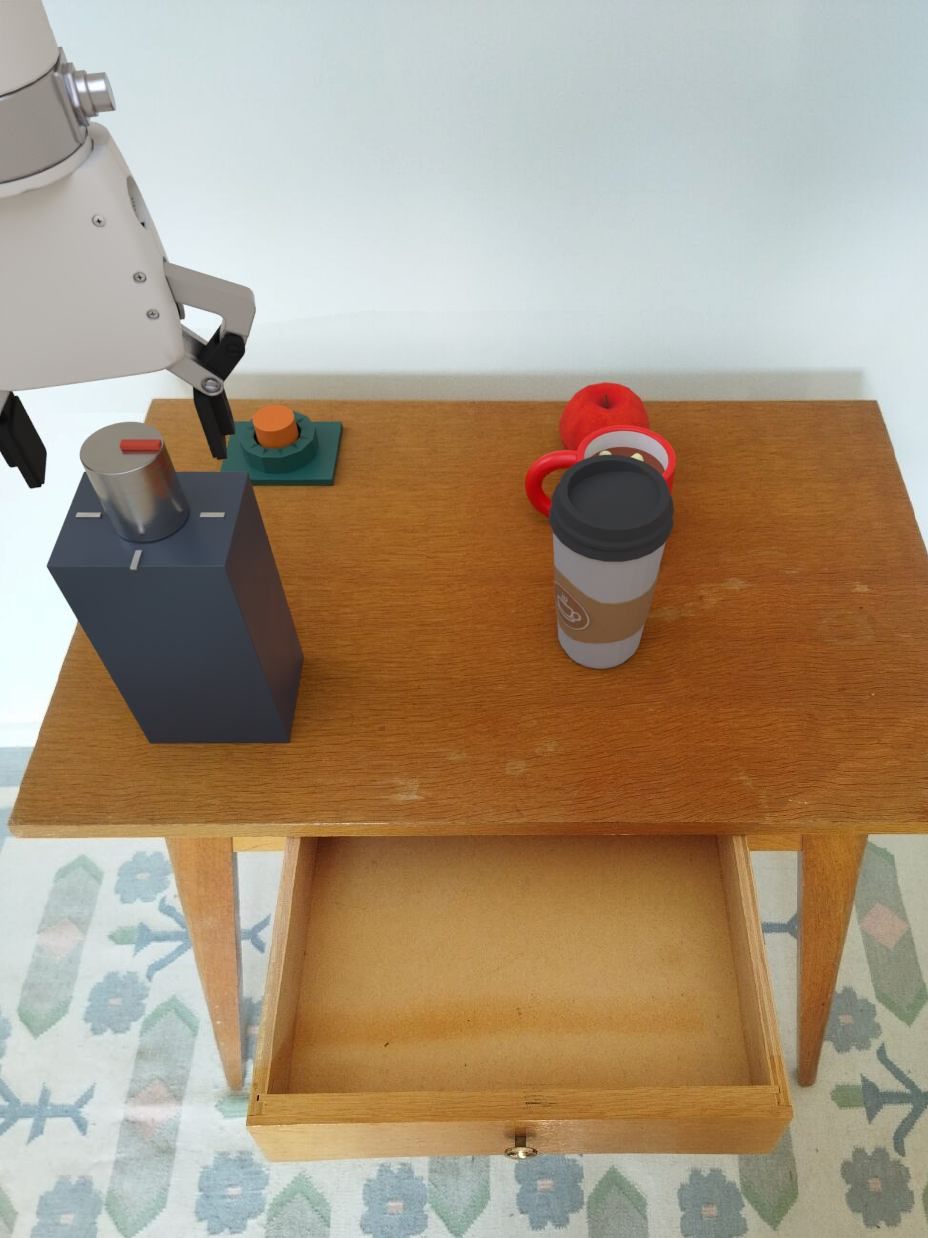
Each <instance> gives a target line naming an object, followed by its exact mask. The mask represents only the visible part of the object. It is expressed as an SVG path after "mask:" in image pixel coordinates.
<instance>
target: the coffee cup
mask: <svg viewBox="0 0 928 1238" xmlns="http://www.w3.org/2000/svg"><path fill="white" fill-rule="evenodd" d="M550 499H551V508H550V510H549V517H548V522H549V526H550V527H551V530H552V543H553V544H552V546H553V561H552V562H553V564H552V567H553V586H554V600H555V601H554V603H555V616H556V619H557V620H556V621H557V638H558V641H559V644H560V646H561V648H562V650H563V651H565V653H566V654H567V656H568V657H569V658H570V659H571V660H573V661H574V662H575V663H577V664H579V665H581V666H583V667H585V668H591V669H596V670H597V669H599V670H600V669H601V670H603V669H610V668H615V667H617V666H619V665H622V664H623V663H625V662H626V661H627V660H629V659H630V658H631V657H632V656H633V655H634V654H635V653H636V651H637V650H638V648H639V646H640V642H641V640H642V639H641V638H642V636H643V631H644V628H645V624H646V622H647V620H648V617H649V613H650V609H651V605H652V602H653V598H654V594H655V590H656V585H657V582H658V578H659V574H660V572H661V562H662V558H663V554H664V550H665V546H666V542H667V540H668V539H669V538H670V537H671V535H672V531H673V528H674V524H675V523H674V512H675V509H674V500H673V497H672V494H671V495H670V493H669V487H668V485H667V483H666V481H665V479H664V477H663V476H662V475H661V474H660V473H659V472H658V471H657V470H656V469H655V468H653V467H652V466H650V465H649V464H647V463H646V462H643V461H641V460H638V459H635V458H633V457H628V456H623V455H599V456H593V457H589V458H587V459H584V460H581V461H579V462H577V463H576V464H574V465H573V466H571V467H570V468H567V469H566V471H564V473H563V474H562V475H561V477H560V480H559V481H558V484H557V485H556V486H555V488H554V490H553V493H552V496H551V498H550Z"/></svg>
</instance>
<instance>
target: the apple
mask: <svg viewBox="0 0 928 1238" xmlns="http://www.w3.org/2000/svg"><path fill="white" fill-rule="evenodd" d="M616 425H631V426H638V427H642V428H646V429H648V430H650V426H651V424H650V419H649V415H648V412H647V410H646V407H645V404H644V402H643V400H642V398H641V397H640V396H639V395H638V394H637V393H636V392H634V390H632V389H631V388H630V387H628V386H626V385H623V384H621V383H616V382H606V381H605V382H598V383H593V384H588V385H587V386H585V387H583V388H581V389H579V390H578V391H576V392H575V393H574V395H573V396H572V397H571V398H570V399H569V400H568V402H567V403H566V405H565V406H564V408H563V410H562V412H561V416H560V418H559V427H558V433H559V437H560V440H561V443H562V446H563V448H564V450H573V451H577V450H578V447H579V445H580V444H581V442H582V441H583V440H584V439H585V438H586V437H587V436H588V435H590V434H591V433H593V432H594V431H597V430H599V429H601V428H605V427H609V426H616Z"/></svg>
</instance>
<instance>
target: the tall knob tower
mask: <svg viewBox="0 0 928 1238" xmlns="http://www.w3.org/2000/svg"><path fill="white" fill-rule="evenodd" d="M176 474H177V477H178V479H179V482H180V484H181V487H182V490H183V492H184V495H185V497H186V500H187V503H188V506H189V514H188V518H187V520H186V522H185V523H184V524H183V526H182V527H181V528H180V529H178V530H177V531H176V532H174V533H173V534H171V535H169V536H167V537H165V538H163V539H159V540H156V541H150V542H135V541H130V540H127V539H124V538H123V537H121V536H119V535H118V534H117V533H116V532H115V531H114V529H113V527H112V525H111V523H110V521H109V519H108V517H107V514H106V512H105V510H104V508H103V506H102V504H101V502H100V500H99V498H98V496H97V494H96V492H95V490H94V487H93V485H92V483H91V481H90V479H89V477H88V475H87V473H86V471H83V473H82V475H81V478H80V480H79V482H78V485H77V487H76V490H75V493H74V495H73V498H72V500H71V503H70V506H69V508H68V510H67V513H66V516H65V518H64V520H63V523H62V525H61V528H60V531H59V533H58V536H57V538H56V541H55V543H54V545H53V547H52V551H51V553H50V556H49V558H48V560H47V563H46V569H47V570H48V573H49V574H50V576H51V577H52V579H53V580H54V583H55V584H56V586H57V587H58V589H59V591H60V592H61V594H62V596H63V598H64V599H65V601H66V602H67V605H68V606H69V608H70V610H71V611H72V613H73V615H74V617H75V618H76V620H77V622H78V623H79V625H80V627H81V628H82V630H83V632H84V633H85V635H86V637H87V639H88V640H89V642H90V644H91V646H92V647H93V649H94V650H95V652H96V654H97V656H98V657H99V659H100V661H101V662H102V664H103V666H104V667H105V669H106V671H107V672H108V675H109V676H110V678H111V680H112V682H113V683H114V684H115V687H116V688H117V690H118V692H119V693H120V695H121V697H122V698H123V700H124V702H125V703H126V705H127V707H128V709H129V711H130V712H131V714H132V715H133V717H134V720H136V722H137V724H138V726H139V727H140V729H141V732H142V733H143V735H145V738H146V739H147V742H148V743H149V744H283V743H284V744H285V743H286V744H289V743H290V741H291V737H292V736H291V735H292V729H293V723H294V717H295V713H296V712H295V711H296V706H297V699H298V694H299V689H300V682H301V676H302V671H303V670H302V669H303V664H304V659H305V654H304V651H303V648H302V644H301V642H300V638H299V635H298V632H297V629H296V628H297V627H296V626H295V622H294V618H293V615H292V612H291V608H290V606H289V603H288V599H287V596H286V592H285V589H284V585H283V583H282V579H281V576H280V573H279V569H278V566H277V563H276V560H275V556H274V553H273V549H272V546H271V543H270V540H269V537H268V533H267V529H266V526H265V523H264V520H263V516H262V514H261V513H262V512H261V510H260V506H259V504H258V500H257V496H256V494H255V490H254V487H253V485H252V483H251V480H250V477H249V473H248V472H220V471H176Z"/></svg>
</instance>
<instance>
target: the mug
mask: <svg viewBox="0 0 928 1238" xmlns="http://www.w3.org/2000/svg"><path fill="white" fill-rule="evenodd" d="M599 455H623V456H628V457H633V458H635V459H638V460H641V461H643V462H646V463H647V464H649V465H650V466H652V467H653V468H655V469H656V470H657V471H658V472H659V473H660V474H661V475H662V476H663V477H664V479H665V481H666V483H667V485H668V487H669V493H670V495H671V496H672V491H673V485H674V484H673V483H674V478H675V473H676V467H677V455H676V453H675V450H674V448H673V446H672V445H671V444H670V443H669V441H668V440H666V438H664V437H663V436H662V435H660V434H658V433H657V432H656V431H653V430H650V429H649V430H648V429H646V428H642V427H638V426H631V425H616V426H609V427H605V428H601V429H599V430H597V431H594V432H593V433H591V434H590V435H588V436H587V437H586V438H585V439H584V440H583V441H582V442H581V444H580V445H579V447H578V450H577V451H573V450H565V449H561V450H553V451H551V452H548V453H546V454H544V455H541V456H540V457H539V458H538V459H536V460H535V461H534V462H533V463H532V464H531V466H530V467H529V469H528V470H527V473H526V475H525V478H524V490H525V494H526V497H527V500H528V501H529V503H530V504H531V506H532V507H533V508H534V509H535V510H536V512H538V513H540V514H541V515H543V516H545V517H547V518H549V510H550V508H551V499H552V498H550V497H549V496H548V495H547V494H546V492H545V490H544V489H543V481H544V479H545V478H546V477H547V476H548V475H549V474H551V473H553V472H555V471H557V470H562V469H569V468H570V467H571V466H573V465H574V464H576V463H577V462H579V461H581V460H584V459H587V458H589V457H593V456H599Z"/></svg>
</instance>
